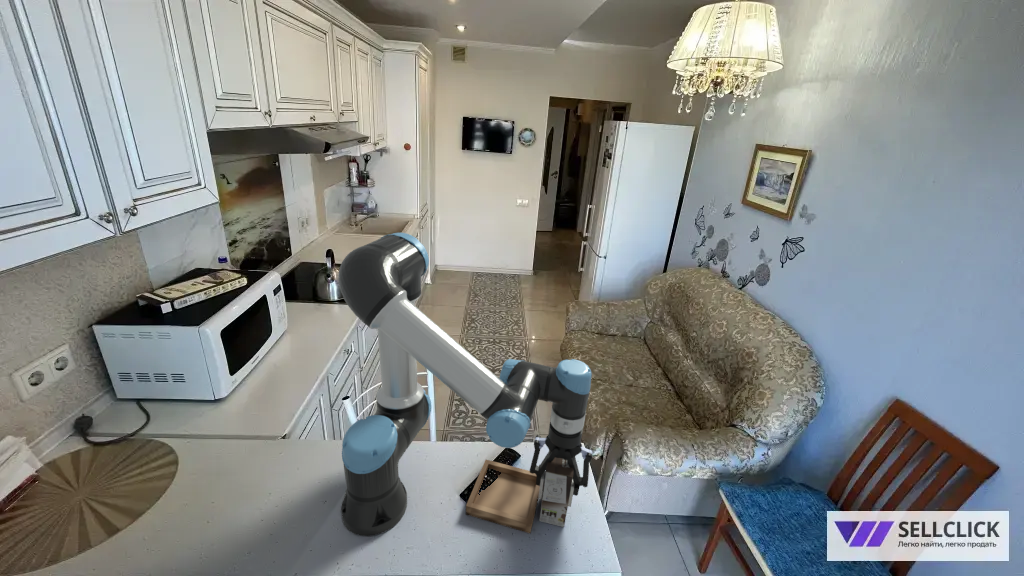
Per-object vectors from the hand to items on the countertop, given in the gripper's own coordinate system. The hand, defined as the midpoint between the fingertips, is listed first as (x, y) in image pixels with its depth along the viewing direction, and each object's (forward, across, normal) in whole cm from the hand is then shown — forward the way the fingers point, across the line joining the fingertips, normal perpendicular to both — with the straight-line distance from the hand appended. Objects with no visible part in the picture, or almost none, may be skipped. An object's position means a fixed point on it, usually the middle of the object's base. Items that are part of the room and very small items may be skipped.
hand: (555, 497), depth 100 cm
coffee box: (+4, 0, 0) cm, 4 cm away
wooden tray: (+4, -12, 0) cm, 13 cm away
